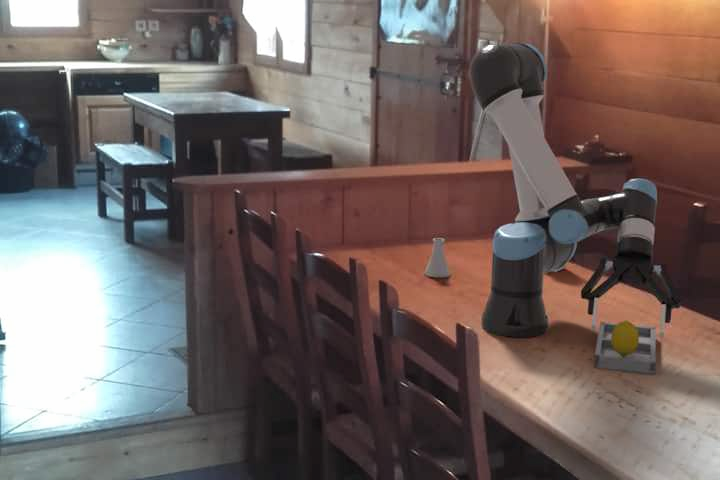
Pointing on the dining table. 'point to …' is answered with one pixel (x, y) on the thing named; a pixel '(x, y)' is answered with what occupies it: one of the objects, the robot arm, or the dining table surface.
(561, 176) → the robot arm
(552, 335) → the dining table surface
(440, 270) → the flask
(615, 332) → the lemon
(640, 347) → the grey divided tray
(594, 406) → the dining table surface
